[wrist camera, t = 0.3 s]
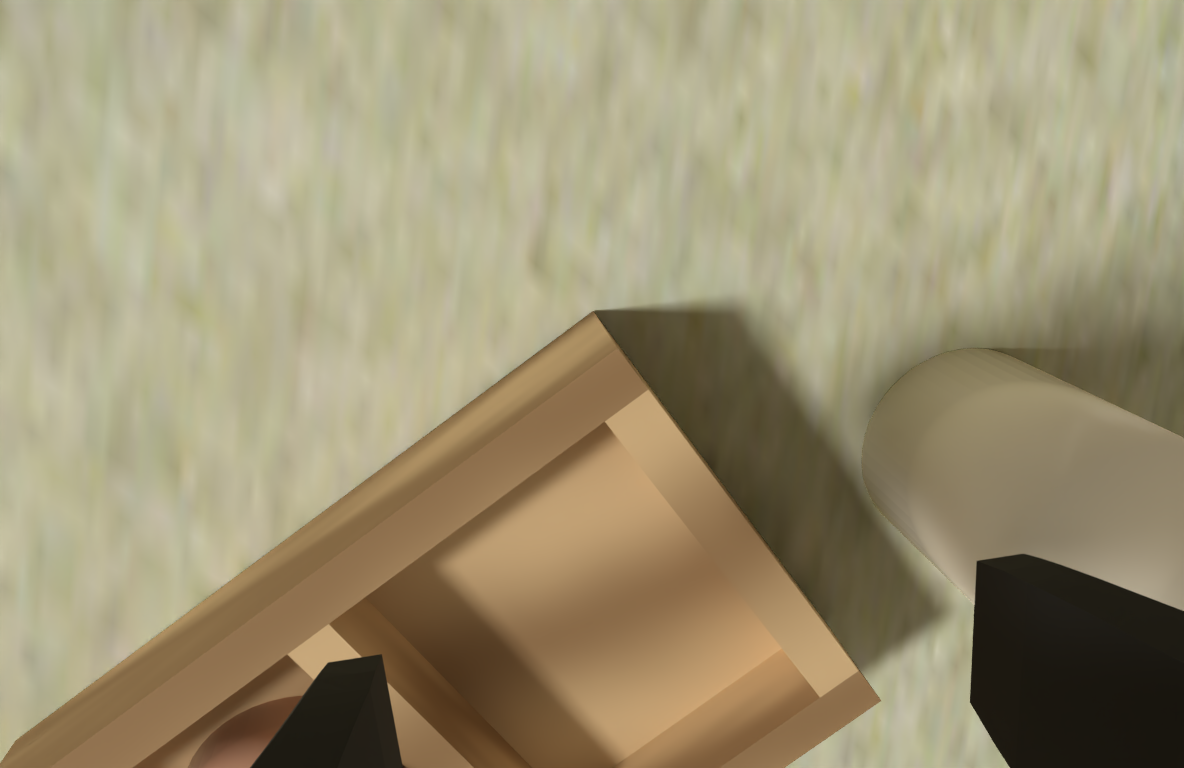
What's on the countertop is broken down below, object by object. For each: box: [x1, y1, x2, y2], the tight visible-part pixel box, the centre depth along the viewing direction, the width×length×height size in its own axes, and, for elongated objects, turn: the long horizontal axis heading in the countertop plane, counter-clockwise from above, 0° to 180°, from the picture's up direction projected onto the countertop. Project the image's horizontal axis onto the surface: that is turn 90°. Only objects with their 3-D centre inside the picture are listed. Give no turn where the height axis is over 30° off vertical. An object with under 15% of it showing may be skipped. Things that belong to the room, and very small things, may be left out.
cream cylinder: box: [861, 348, 1184, 611], centre depth 19 cm, size 5×5×6 cm
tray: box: [0, 311, 881, 768], centre depth 20 cm, size 10×16×3 cm, turn 126°
